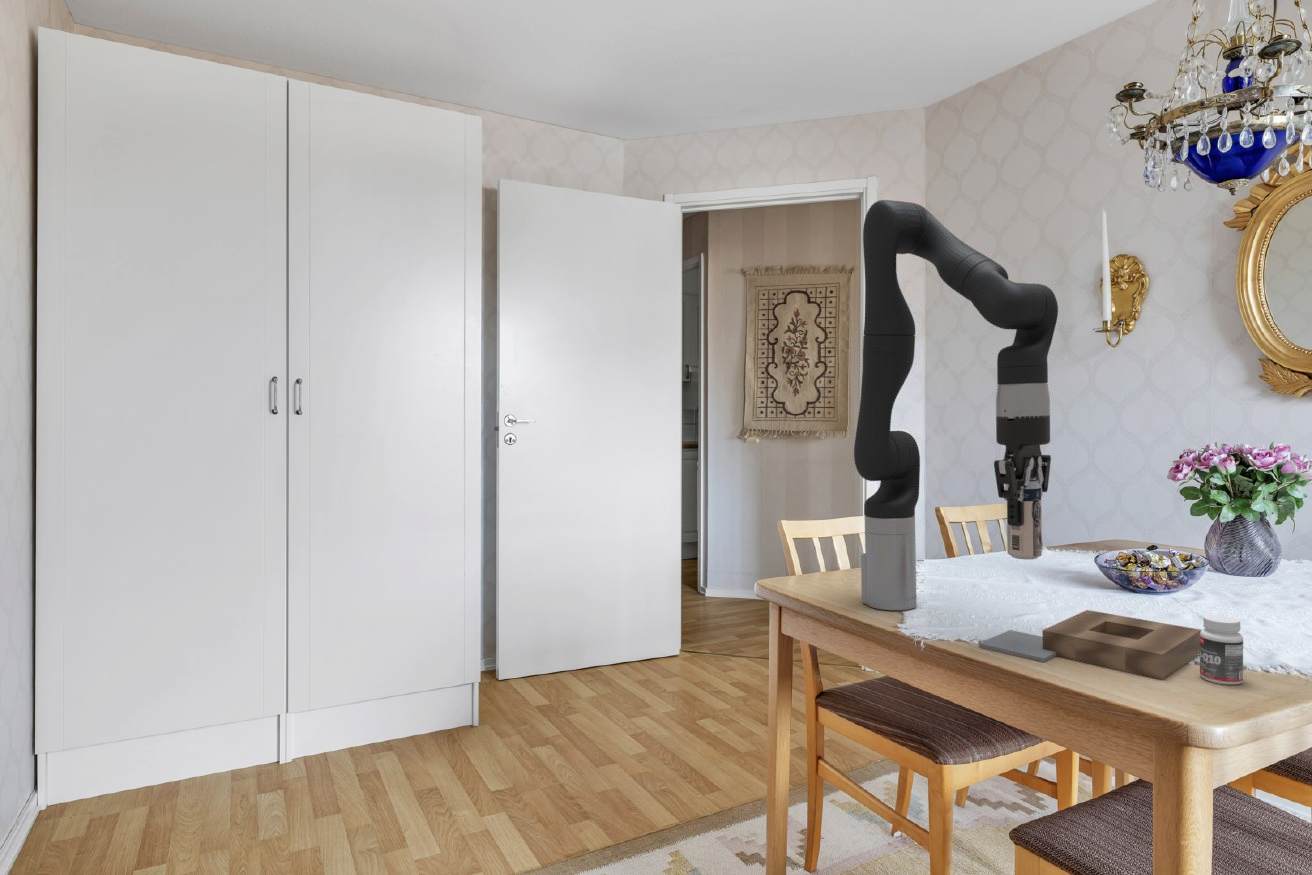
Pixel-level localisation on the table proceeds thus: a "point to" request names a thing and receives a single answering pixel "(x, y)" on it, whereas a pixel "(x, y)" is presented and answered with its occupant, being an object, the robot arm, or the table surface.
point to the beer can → (1027, 526)
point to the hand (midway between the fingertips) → (1023, 522)
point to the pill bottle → (1221, 650)
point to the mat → (1019, 645)
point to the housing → (1123, 643)
